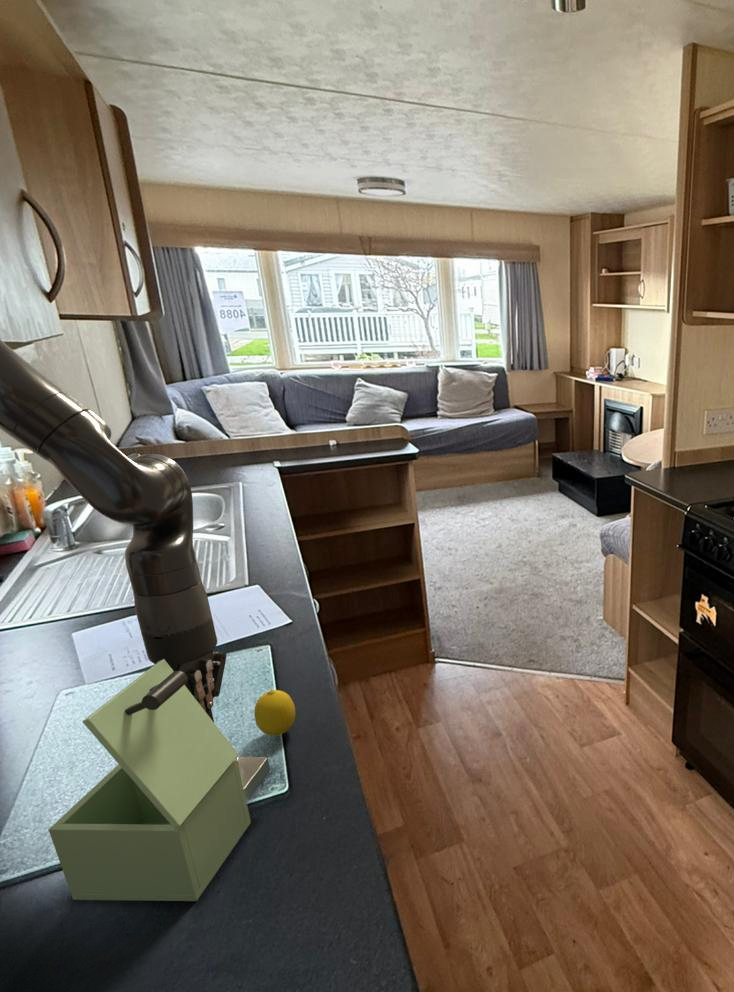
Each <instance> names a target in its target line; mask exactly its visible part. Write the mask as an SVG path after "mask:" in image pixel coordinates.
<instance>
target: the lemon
mask: <svg viewBox="0 0 734 992" xmlns="http://www.w3.org/2000/svg"><path fill="white" fill-rule="evenodd" d="M254 720H255V724H256V726H257V728H258V729H259V730H260V732H262V733H264V734H265V735H267V736H271V737H272V736H277V737H281V736H282V735H283V734H284V733H286V732H288V731H289V730H290V729H291V728H292V726H293V725H294V722H295V720H296V706H295V703H294V701H293V700H292V697H291V696H290V695H289V694H288V693H286V692H285V691H283V690H279V689H269V690H268V691H267V692H265V693H263V694H261V696H260V697H259V698H258V699H257V700H256V703H255V706H254Z"/></svg>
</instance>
